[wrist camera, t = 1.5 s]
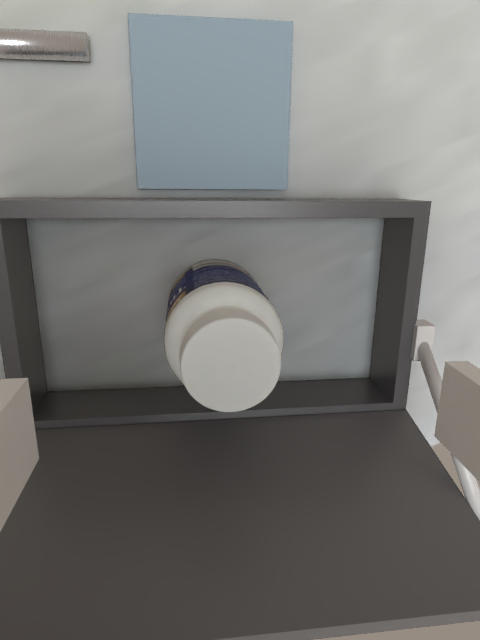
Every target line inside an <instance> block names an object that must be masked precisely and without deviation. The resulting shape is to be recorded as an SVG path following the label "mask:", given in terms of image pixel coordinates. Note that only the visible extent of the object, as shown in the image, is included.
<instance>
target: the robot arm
mask: <svg viewBox="0 0 480 640" xmlns="http://www.w3.org/2000/svg"><path fill="white" fill-rule="evenodd" d="M435 437H436V438H437V439H438V440H439V441H440V442H441V443H442V444H443V445H444V446H445V447H446V448H447V449H448V450H449V451H450V452H451V453H452V454H453V455H454V456H455V457H456V458H457V459H458V460H459V462H460V463H461V464H462V465H463V466H464V467H465V468H466V469H467V470H468V471H469V472H470V473H471V474H472V475H473V476H474V477H475V478H476V479H477V480H478V481H479V482H480V369H479V368H478V367H476V366H474V365H473V364H471V363H470V362H468V361H453V362H445V368H444V374H443V381H442V388H441V395H440V402H439V408H438V415H437V422H436V429H435ZM38 460H39V454H38V447H37V439H36V432H35V425H34V418H33V411H32V403H31V396H30V389H29V382H28V378H11V379H0V532H1V530H2V528H3V526H4V524H5V522H6V520H7V518H8V517H9V515H10V513H11V511H12V509H13V507H14V505H15V503H16V501H17V500H18V498H19V496H20V494H21V492H22V490H23V488H24V486H25V484H26V483H27V481H28V479H29V477H30V475H31V473H32V471H33V469H34V467H35V466H36V464H37V462H38Z"/></svg>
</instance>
